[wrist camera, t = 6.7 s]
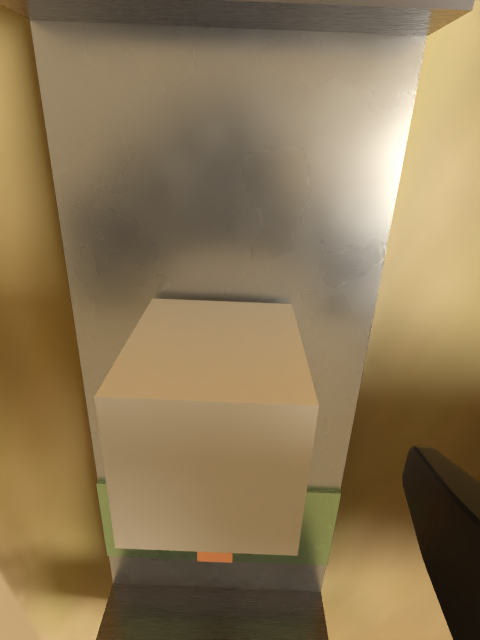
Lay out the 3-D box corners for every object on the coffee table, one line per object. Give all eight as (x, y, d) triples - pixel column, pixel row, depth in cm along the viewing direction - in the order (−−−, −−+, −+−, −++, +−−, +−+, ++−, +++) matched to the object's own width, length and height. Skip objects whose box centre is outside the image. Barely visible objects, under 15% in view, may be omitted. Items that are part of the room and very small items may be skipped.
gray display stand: (43, -20, 10) (-182, -194, 5) (419, -5, 10) (608, -162, 5) (125, 602, 19) (82, 762, 14) (309, 609, 19) (331, 772, 14)
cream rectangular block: (152, 298, 11) (93, 396, 7) (291, 304, 12) (319, 405, 7) (165, 519, 15) (132, 672, 11) (270, 523, 15) (279, 678, 11)
